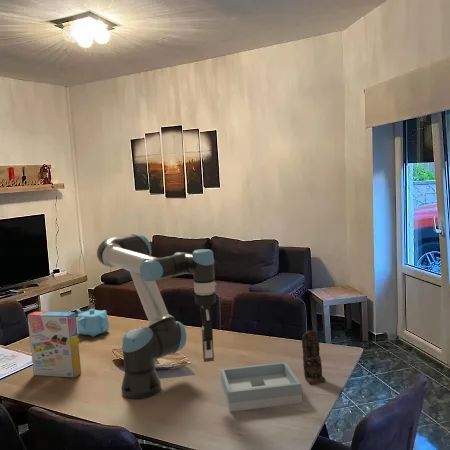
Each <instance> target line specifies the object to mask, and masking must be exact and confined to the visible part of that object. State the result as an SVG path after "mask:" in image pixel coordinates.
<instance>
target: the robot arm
mask: <svg viewBox="0 0 450 450" xmlns="http://www.w3.org/2000/svg"><path fill="white" fill-rule="evenodd" d="M150 242H151V241H149V239H148V238H147V237H146V236H145V235H143V234H141V233H140V234H138V233H136V234H133V233H132V234H129V235H122V236H115V237H109V238H106V239H104V240H103V241H101V243H100V244H99V245H98V248H97V250H96V256H97V257H96V258H97V260H98V261H99V262H100V264H102V265H103V266H105V267H108V268H116V267H117V268H120V269H123V270H125V271H128V272H129V274H130V277H131V279H132V281H133V284H134V287H135V289H136V292H137V295H138V297H139V300H140V303H141V305H142V307H143V310H144V312H145V315H146V318H147V319H148V325H147V327H146V326H145V327H143V326H142V327H137V328H134V329H131V330H129V331H128V332H126V333H125V334H124V336H122V344H121V345H122V347H121V348H122V355H123V356H122V357H123V367H124V374H123V379H122V382H121V394H122V396H123V397H124V398H127V399H130V400H131V399H132V400H133V399H134V400H139V399H141V400H142V399H147V398H149V397H152V396H155V395H157V393H160V390H161V389H162V386H161V385H162V384H161V380H160V378H159V374H158V373H157V371H156V367H155V366H156V365H155V364H156V363H155V362H156V360H158V359H161V358H163V357H166V356H168V355H172V354H175V353H177V352H179V351H181V350H183V349H184V348H185V346H186V342H187V330H186V327H185V326H184V324H183V323H182V322H181V321H176V318H175V316H173V315H171V314H169V311H168V309H167V307H166V304H165V301H164V299H163V297H162V294H161V292H160V288H159V287H158V284H157V283H156V282H157V281H159V280H164V279H169V278H171V277H172V278H173V277H177V276H182V275H187V274H188V275H192V276H193V289H194V293H195V294H194V302H195V303H194V304H196V305H197V306H200V307H199V311H200V317H201V325H202V326H204V336H205V339H203V341H204V346H205V358H213V353H212V340H213V341H214V338H212V330H213V327H212V320H213V315H212V314H213V310H212V307H211V306H212V305H215V304H216V302H217V300H216V299H217V298H216V297H217V295H216V286H217V285H218V284H217V282H215V281H216V280H215V278H216V277H215V258H214V252H213V250H211V249H204V248H202V249H195V250H194V251H192V253H189V252H185V251H182V252H181V251H180V252H179V251H178V252H175V253H173V255H169V256H164V257H155V256H152V245H151V243H150ZM202 326H201V327H202Z"/></svg>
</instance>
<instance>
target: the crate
mask: <svg viewBox="0 0 450 450" xmlns="http://www.w3.org/2000/svg"><path fill="white" fill-rule="evenodd" d="M220 379H221V380H220V381H221V390H222V393H223V395H224V399H225V403H226V405H227V409H228V411H229V413H231V412H239V411H247V410H256V409H263V408H271V407H272V408H273V407H279V406H286V405H288V404H289V405H296V403H297V404H302V403H303V401H302V400H303V396H302V383H301V382H300V380H299V379H298V377H297V375H295V373H294V372H293V370H292V369H291V368H290V366H289V365H288V363H287V361H282V362H281V361H280V362H274V363H273V362H272V363H263V364H255V365H254V364H253V365H248V366H247V365H246V366H236V367H229V368H220Z"/></svg>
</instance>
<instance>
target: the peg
mask: <svg viewBox="0 0 450 450" xmlns="http://www.w3.org/2000/svg"><path fill="white" fill-rule="evenodd" d="M213 332H214V331H213V329H212V338H213V337H214V335H213ZM203 339H205V336H204V326H201V341H202V342H201V343H202V358H203V362H204V363H207V362H214V361H215V353H214V338H213V340H212V353H213V358H205V346H204V341H203Z"/></svg>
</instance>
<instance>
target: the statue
mask: <svg viewBox="0 0 450 450" xmlns="http://www.w3.org/2000/svg"><path fill="white" fill-rule="evenodd" d="M301 345H302V361H303V363H302V364H303V373H304V375H303V376H304V379H305V380H306V382H307V383H308V385H318V384H321V383H325V382H326V378H325V377H324V376H323V368H322V367H323V366H322V365H323V364H322V358H321V356H320V350H321V349H320V341H319V335H318V333H317V331H315V330H308V331H306V332H304V334H303V335H302V337H301Z"/></svg>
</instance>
